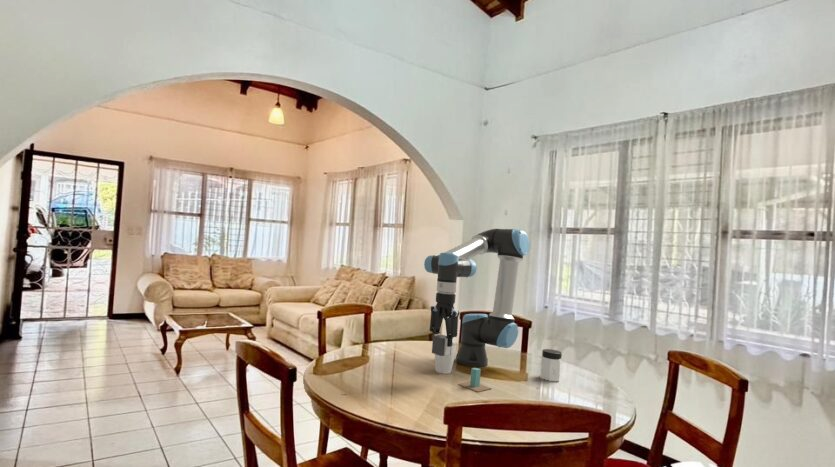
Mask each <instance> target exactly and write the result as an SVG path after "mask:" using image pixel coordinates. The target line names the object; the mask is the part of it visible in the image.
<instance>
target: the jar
mask: <svg viewBox="0 0 835 467" xmlns="http://www.w3.org/2000/svg"><path fill="white" fill-rule="evenodd" d="M541 352H542V353H541V354H542V355H541V363H540V374H539V376H540V377H539V378H540V379H541V378H542V380H544V379H545V380H544V381H547V380H549V381H548V382H556V381H558V380H559V379H561V367H562V366H561V365H562V351H560V350H556V349H552V348H551V349H550V348H545V349H543V348H542V351H541ZM559 381H560V380H559Z"/></svg>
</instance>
